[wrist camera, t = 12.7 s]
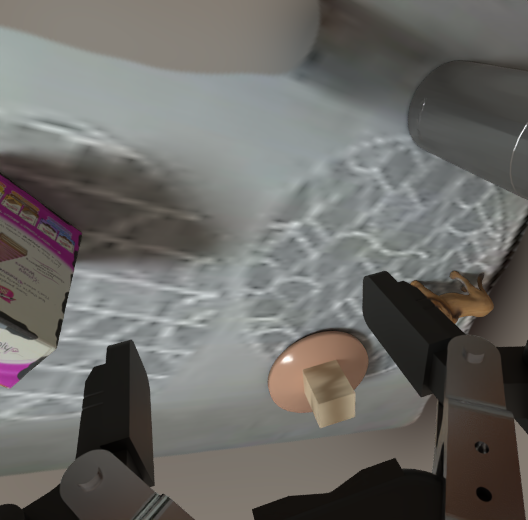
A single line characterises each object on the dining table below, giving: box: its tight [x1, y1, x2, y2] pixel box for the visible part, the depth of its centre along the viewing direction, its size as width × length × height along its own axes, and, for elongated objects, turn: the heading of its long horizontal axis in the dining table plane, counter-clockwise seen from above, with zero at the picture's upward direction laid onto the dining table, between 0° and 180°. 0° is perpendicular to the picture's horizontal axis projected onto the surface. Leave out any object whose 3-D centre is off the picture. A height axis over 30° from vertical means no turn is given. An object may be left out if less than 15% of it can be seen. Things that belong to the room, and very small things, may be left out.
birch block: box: [302, 360, 355, 428], centre depth 55 cm, size 5×5×6 cm
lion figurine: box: [411, 271, 493, 324], centre depth 53 cm, size 15×5×9 cm, turn 101°
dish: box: [268, 331, 368, 413], centre depth 58 cm, size 15×15×2 cm
